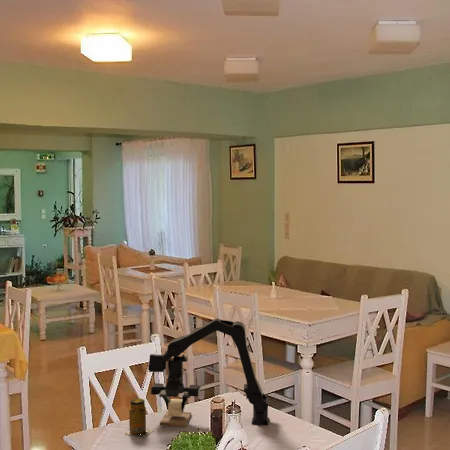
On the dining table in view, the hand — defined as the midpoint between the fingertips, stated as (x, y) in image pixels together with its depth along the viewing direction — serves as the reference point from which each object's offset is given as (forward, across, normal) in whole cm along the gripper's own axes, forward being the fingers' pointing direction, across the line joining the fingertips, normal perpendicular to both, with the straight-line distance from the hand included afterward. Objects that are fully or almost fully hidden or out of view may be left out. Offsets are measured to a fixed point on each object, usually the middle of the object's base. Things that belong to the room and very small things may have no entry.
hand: (175, 411), depth 237 cm
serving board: (+4, 0, 0) cm, 4 cm away
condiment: (+4, -11, -13) cm, 17 cm away
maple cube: (+1, 0, 0) cm, 1 cm away
